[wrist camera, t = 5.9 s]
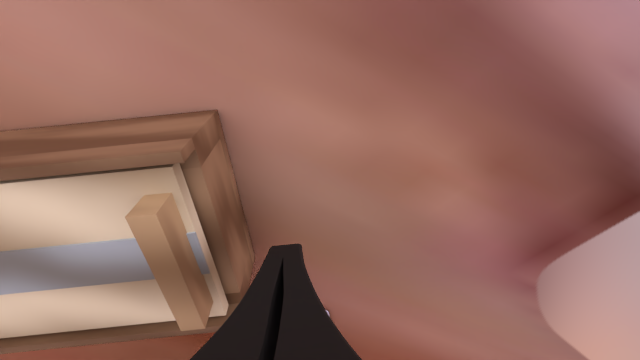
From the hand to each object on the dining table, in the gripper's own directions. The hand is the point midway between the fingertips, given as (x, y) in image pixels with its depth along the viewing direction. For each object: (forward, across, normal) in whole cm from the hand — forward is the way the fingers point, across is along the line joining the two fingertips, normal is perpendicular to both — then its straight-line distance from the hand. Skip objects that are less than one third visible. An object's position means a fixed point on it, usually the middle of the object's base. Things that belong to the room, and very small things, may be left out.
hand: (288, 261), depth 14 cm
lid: (+2, +12, 0) cm, 12 cm away
